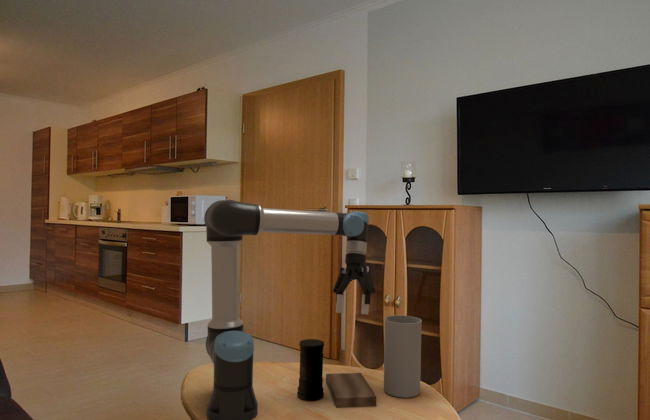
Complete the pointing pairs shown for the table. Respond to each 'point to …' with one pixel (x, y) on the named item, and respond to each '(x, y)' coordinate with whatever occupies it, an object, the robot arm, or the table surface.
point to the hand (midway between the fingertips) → (351, 313)
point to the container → (311, 370)
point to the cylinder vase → (402, 356)
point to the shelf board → (350, 390)
